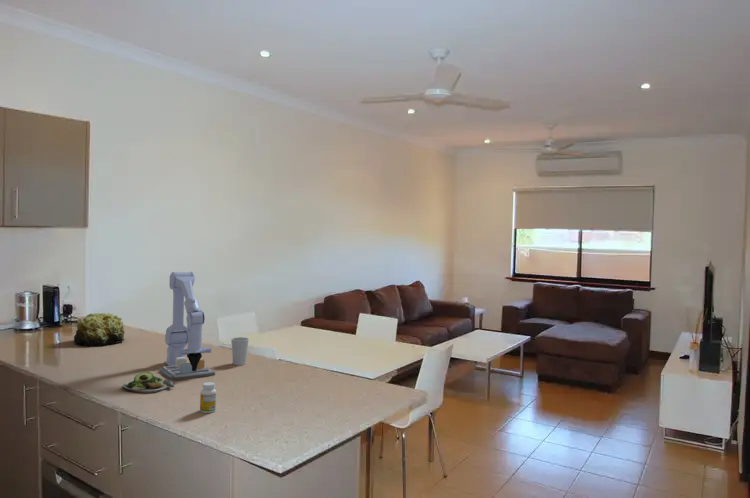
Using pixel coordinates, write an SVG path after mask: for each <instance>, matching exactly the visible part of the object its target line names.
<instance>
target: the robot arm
mask: <svg viewBox="0 0 750 498" xmlns="http://www.w3.org/2000/svg"><path fill="white" fill-rule="evenodd" d="M195 278H196V277H195V274H194V272H193V271H176V272H175V271H173V272H171V273H170V275H169V289H171V290H172V293H173V294H172V295H173V297H172V298H173V299H172V302H173V303H172V324H170V326H168V327H167V328H166V329H165V330H166V331H165V337H164V339H165V340H164V342H165V344H166V345H167V348H166V360H164V363H165V364H166V365H167V366H175V360H176V358H178V357H185V358H188V359H187V360H188V361H189V363H190V364H191V365H192V371H196V369H197V365H198V363H199V361H200V359H201V358H202V357H203V355H202V354H206V353H207V354H208V353H209V354H210V353H211V354H212V350H213V349H212V348H211V347H202V343H203V342H202V340H203V325H204V324H205V319H206V318H205V312H204V311H203V310H202V309H201V307H200V304H199V301H198V298H195V297H194V296H195V295H194V290H193V287H194V284H195V280H196V279H195ZM184 311H186V312H185V313H186V318H185V319H186V325H185V324H184V320H185V319H184V316H185V315H184ZM186 346H187V348H186Z"/></svg>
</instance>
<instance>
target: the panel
mask: <svg viewBox="0 0 750 498" xmlns="http://www.w3.org/2000/svg"><path fill="white" fill-rule="evenodd" d="M158 369H159V371H158V372H159V373H160V374H162V375H163V376H164V377H166V378H167V380H171V381H172V382H173V381H179V380H185V379H187V380H188V379H194V378H202V377H211V376H215V375H216V372H215V371H213V370H212V369H210V368H209V367H207V366H205V365H204V368H202V369H196V371H192V373H191V374H182V375H180V368H175V366H169V365H166V366H163V367H162V368H158Z"/></svg>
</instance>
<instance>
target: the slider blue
mask: <svg viewBox="0 0 750 498" xmlns="http://www.w3.org/2000/svg"><path fill="white" fill-rule="evenodd" d="M191 373H192V365H191V364H190V362H187V363H184V364H181V365H180V375H182V374H191Z"/></svg>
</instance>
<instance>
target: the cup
mask: <svg viewBox="0 0 750 498" xmlns="http://www.w3.org/2000/svg"><path fill="white" fill-rule="evenodd" d="M249 340H250V339H249V338H248V337H241V336H239V337H236V336H235V337H232V338H231V350H232V351H231V352H232V354H231V355H232V365H233V366H244V365H247V356H248V347H249Z"/></svg>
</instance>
